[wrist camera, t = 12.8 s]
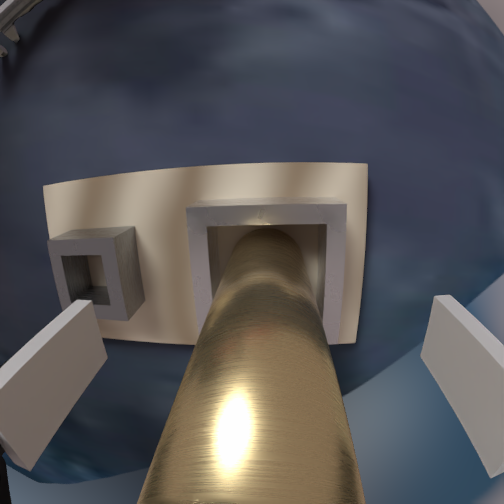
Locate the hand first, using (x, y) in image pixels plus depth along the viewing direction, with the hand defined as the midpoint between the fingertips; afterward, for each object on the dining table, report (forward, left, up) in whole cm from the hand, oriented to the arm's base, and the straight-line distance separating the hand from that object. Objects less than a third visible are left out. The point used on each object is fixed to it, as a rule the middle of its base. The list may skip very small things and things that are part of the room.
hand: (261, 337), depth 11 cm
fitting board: (0, -5, -10) cm, 11 cm away
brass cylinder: (0, 0, -9) cm, 9 cm away
